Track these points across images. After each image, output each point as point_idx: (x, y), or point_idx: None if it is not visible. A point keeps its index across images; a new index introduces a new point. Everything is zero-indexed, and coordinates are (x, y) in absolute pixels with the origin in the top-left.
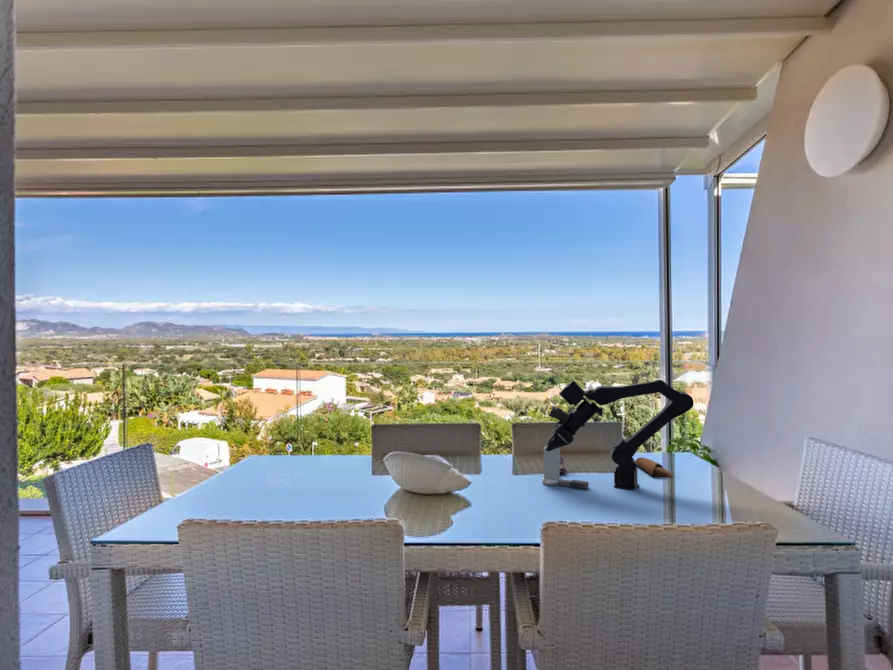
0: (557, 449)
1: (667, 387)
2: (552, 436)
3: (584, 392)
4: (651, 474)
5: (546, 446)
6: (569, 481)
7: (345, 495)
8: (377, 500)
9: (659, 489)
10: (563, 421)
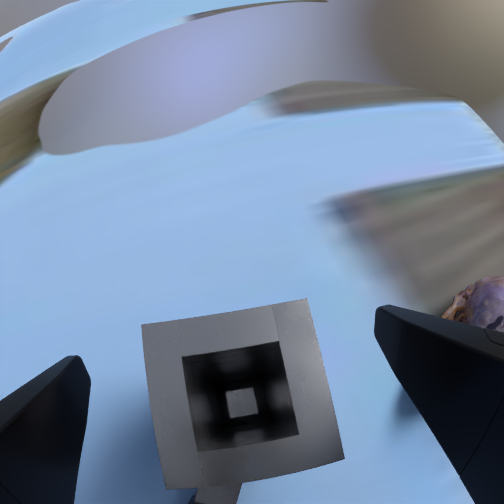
0: (171, 475)
1: None
2: (447, 339)
3: None
4: None
5: (298, 322)
6: (214, 497)
7: (62, 47)
8: (29, 79)
9: None
10: None
